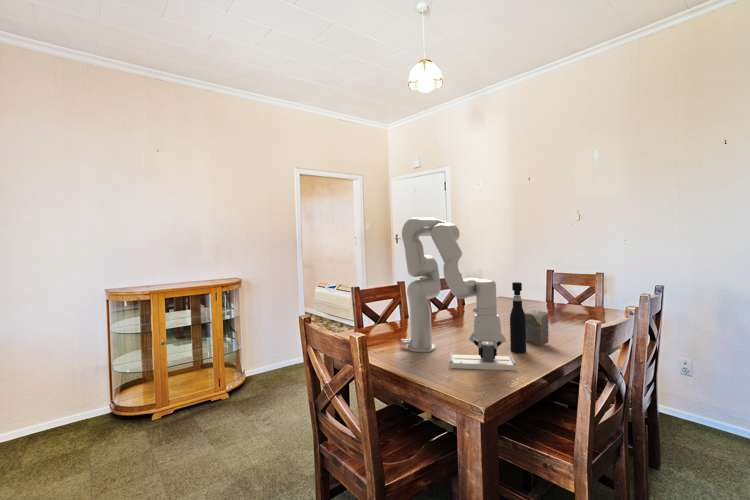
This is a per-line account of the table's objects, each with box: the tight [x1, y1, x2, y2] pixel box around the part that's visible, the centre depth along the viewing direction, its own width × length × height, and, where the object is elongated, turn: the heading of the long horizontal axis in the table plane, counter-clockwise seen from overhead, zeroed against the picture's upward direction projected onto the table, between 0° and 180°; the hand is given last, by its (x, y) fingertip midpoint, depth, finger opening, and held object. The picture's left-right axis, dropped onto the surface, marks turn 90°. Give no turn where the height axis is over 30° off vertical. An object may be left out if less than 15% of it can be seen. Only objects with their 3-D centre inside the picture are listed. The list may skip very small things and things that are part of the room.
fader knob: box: [482, 341, 494, 362], centre depth 142 cm, size 4×6×6 cm, turn 168°
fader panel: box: [449, 352, 517, 371], centre depth 142 cm, size 24×10×3 cm, turn 78°
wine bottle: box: [509, 281, 527, 355], centre depth 156 cm, size 6×6×30 cm
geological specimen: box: [524, 309, 549, 346], centre depth 168 cm, size 11×6×15 cm, turn 25°
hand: (487, 356), depth 142 cm, fingers closed on fader knob, 4 cm apart
